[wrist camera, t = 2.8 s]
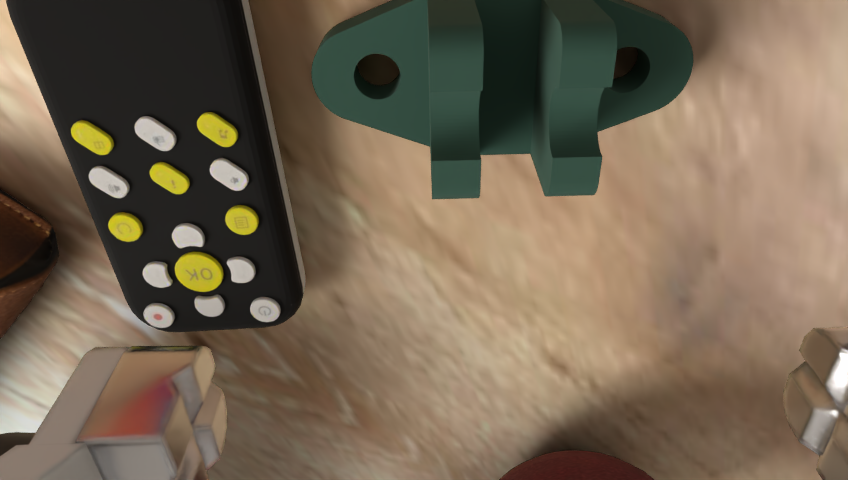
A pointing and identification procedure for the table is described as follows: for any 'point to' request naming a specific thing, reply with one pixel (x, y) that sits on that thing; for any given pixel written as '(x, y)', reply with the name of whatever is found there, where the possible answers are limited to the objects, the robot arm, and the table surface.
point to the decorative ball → (575, 468)
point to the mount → (503, 81)
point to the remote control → (172, 154)
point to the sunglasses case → (22, 257)
